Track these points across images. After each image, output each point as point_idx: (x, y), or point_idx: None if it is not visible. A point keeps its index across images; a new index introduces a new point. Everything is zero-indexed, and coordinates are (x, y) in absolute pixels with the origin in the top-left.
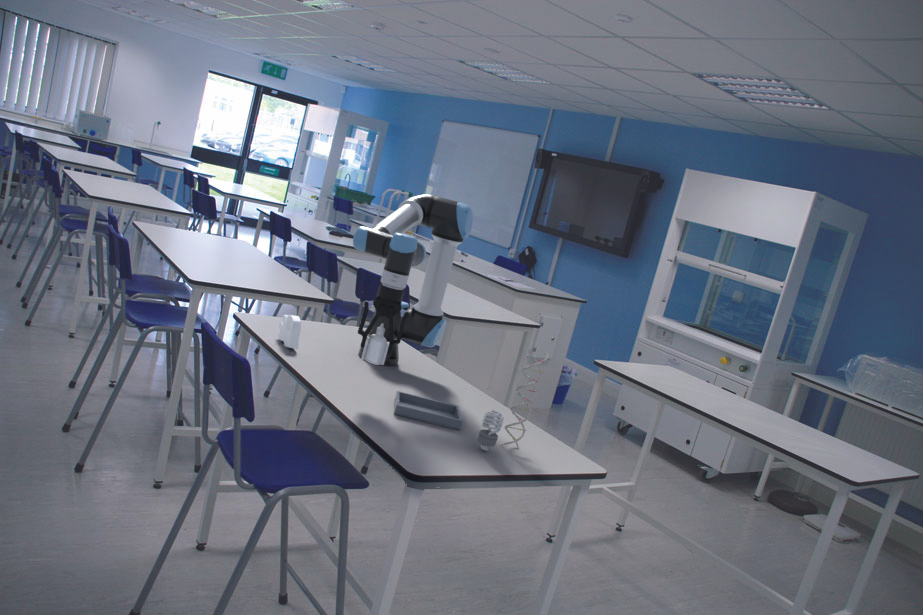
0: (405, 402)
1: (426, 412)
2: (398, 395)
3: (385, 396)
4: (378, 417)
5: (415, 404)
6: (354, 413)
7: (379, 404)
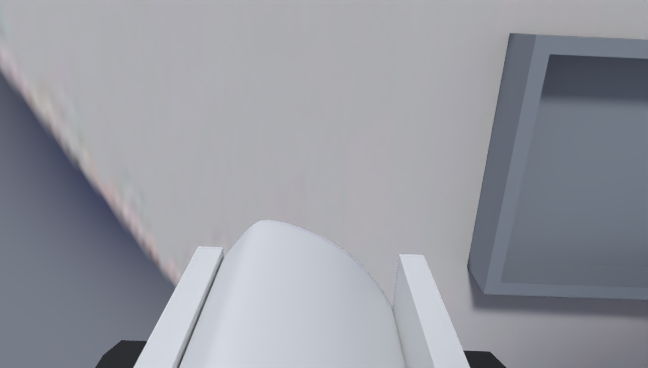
0: (570, 77)
1: (639, 298)
2: (527, 131)
3: (457, 6)
4: None
5: (633, 70)
6: None
7: (406, 173)
